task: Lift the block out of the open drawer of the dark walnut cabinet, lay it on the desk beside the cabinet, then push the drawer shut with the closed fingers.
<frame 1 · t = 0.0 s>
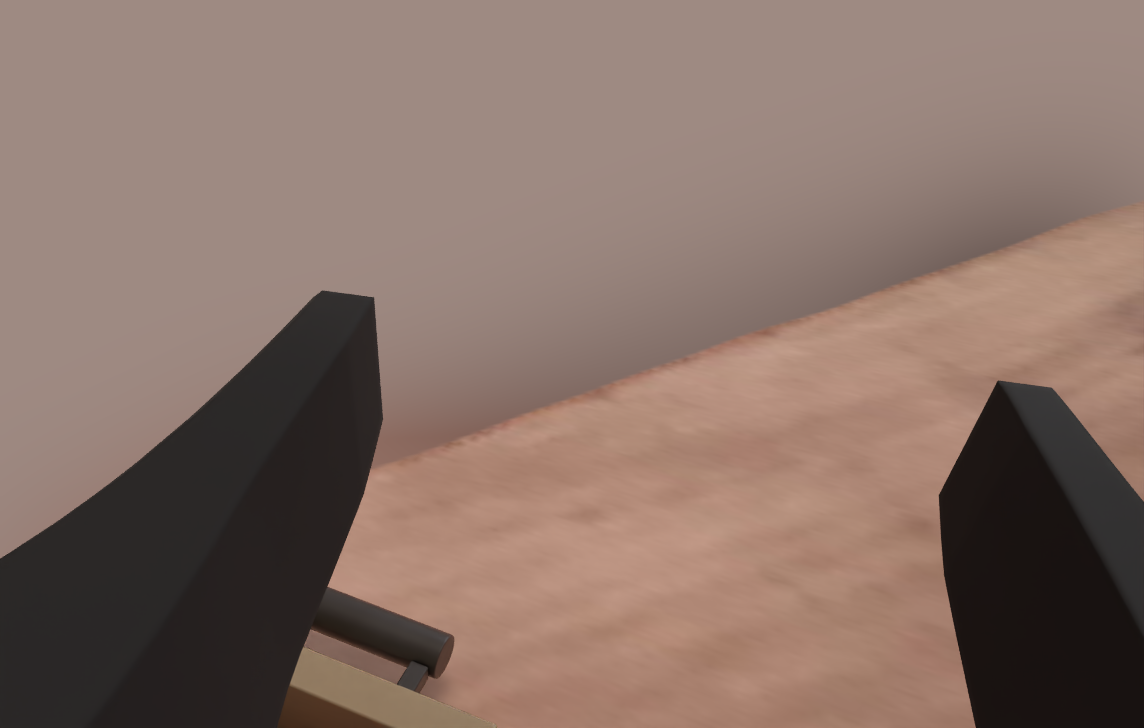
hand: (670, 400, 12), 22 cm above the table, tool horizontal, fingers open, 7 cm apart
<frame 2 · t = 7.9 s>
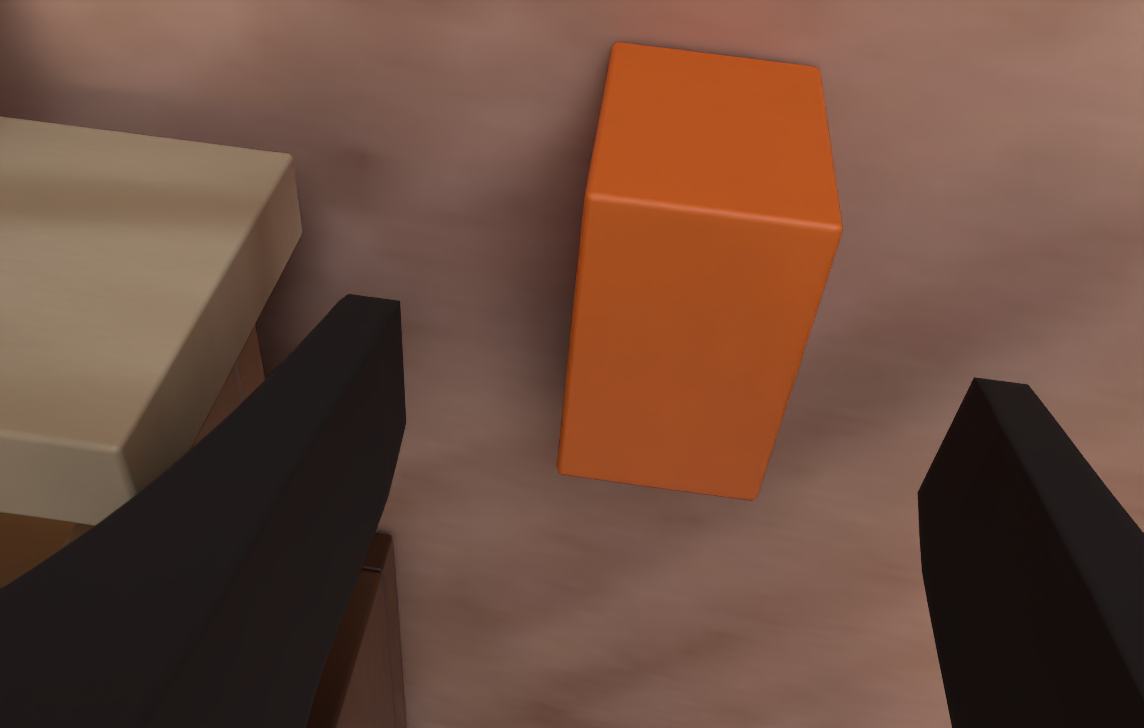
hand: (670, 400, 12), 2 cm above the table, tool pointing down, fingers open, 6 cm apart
cabinet: (110, 661, 23), on the table
block: (676, 266, 14), on the table
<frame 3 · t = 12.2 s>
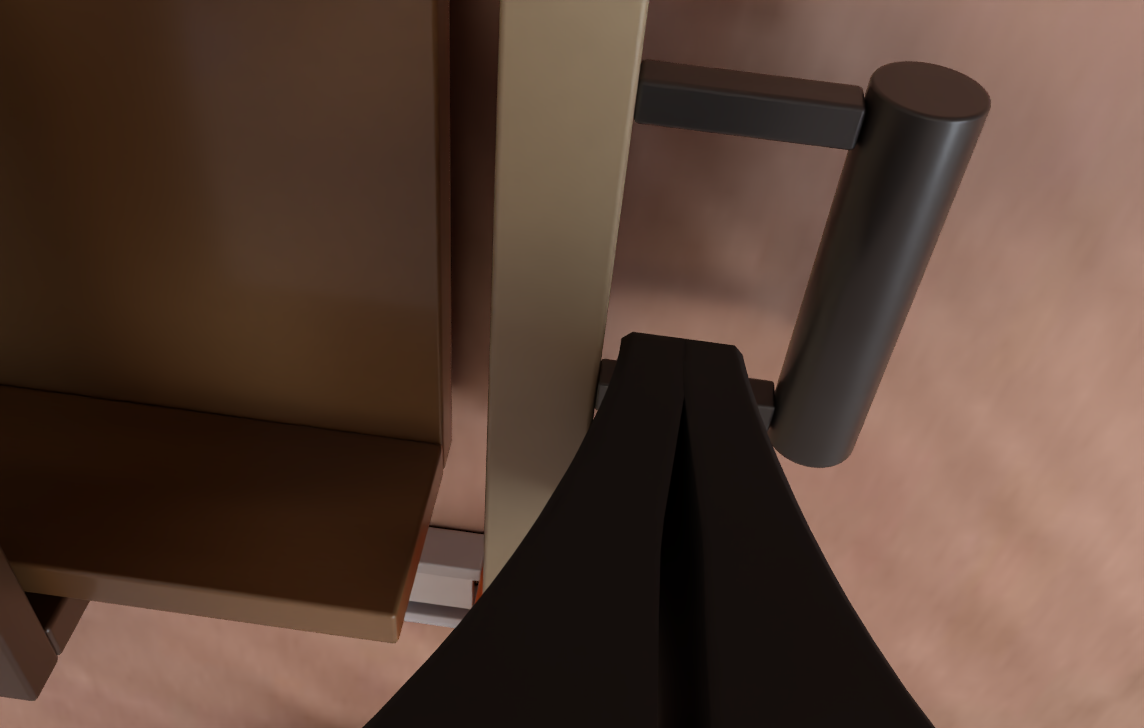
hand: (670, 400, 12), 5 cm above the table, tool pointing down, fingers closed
drawer: (330, 264, 13), point 3 cm above the table, slide at 6.8 cm, touching gripper
block: (526, 571, 23), on the table
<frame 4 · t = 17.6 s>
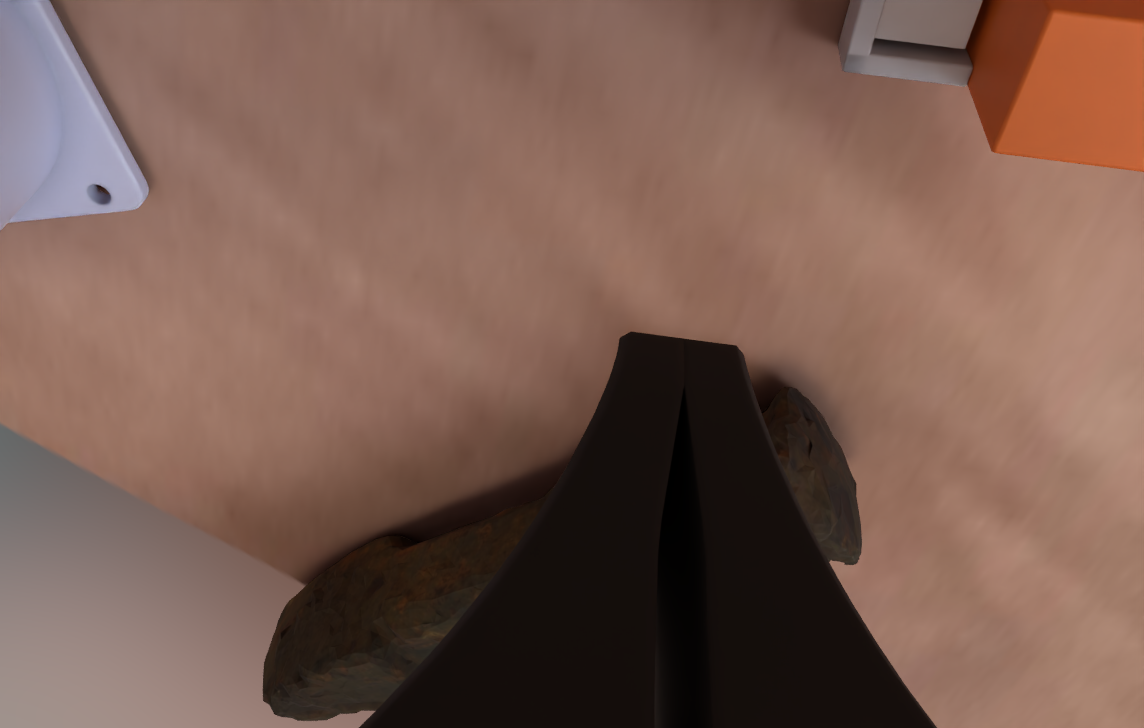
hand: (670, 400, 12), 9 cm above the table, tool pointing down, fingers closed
hand tool: (534, 520, 29), on the table
block: (1032, 4, 18), on the table
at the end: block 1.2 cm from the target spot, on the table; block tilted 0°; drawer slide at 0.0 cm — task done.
